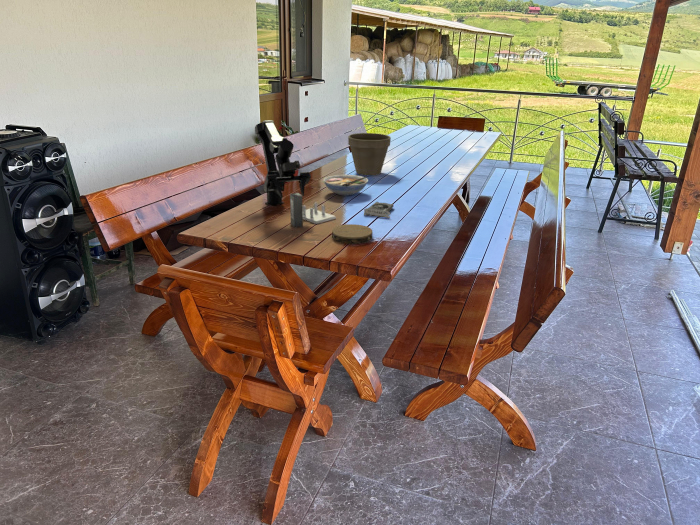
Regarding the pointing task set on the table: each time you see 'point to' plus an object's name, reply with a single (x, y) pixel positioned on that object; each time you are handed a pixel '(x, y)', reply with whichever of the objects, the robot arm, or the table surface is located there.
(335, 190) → the ramen bowl
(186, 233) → the table surface
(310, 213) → the pin tray
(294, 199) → the block
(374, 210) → the graphics card
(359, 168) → the plant pot
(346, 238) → the brown flat round piece
